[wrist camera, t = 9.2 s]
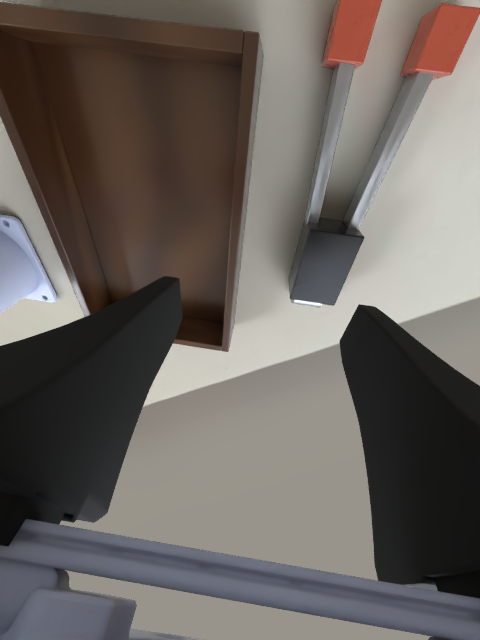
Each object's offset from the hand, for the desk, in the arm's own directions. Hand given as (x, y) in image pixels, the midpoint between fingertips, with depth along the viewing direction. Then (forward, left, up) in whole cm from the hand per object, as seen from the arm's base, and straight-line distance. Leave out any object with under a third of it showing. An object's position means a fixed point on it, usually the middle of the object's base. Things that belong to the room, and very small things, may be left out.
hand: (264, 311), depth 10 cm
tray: (-8, 0, -9) cm, 12 cm away
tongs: (+4, +3, -9) cm, 10 cm away
